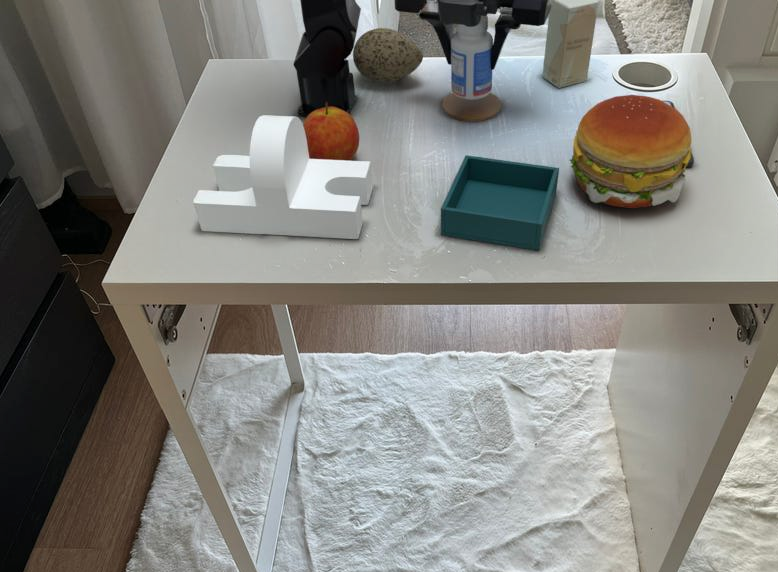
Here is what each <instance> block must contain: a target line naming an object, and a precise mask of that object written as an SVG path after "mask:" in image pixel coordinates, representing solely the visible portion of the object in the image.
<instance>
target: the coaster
mask: <svg viewBox="0 0 778 572" xmlns="http://www.w3.org/2000/svg"><path fill="white" fill-rule="evenodd" d="M441 109H442V111H443V112H444V113H445V115H446V116H448V117H449V118H452V119H454V120H457V121H462V122H481V121H482V122H483V121H487V120H490V119H492V118H494V117H496V116H497V115H498V114H499V113H500V112H501V110H502V102H501V100H500V99H499V97H498V96H497V95H495V94H494V93H491V92H490V94H489V95H487V96H486V97H484V98H481V99H476V100H468V99H462V98H459V97H457V96H456V95H455V94H454V93H453V92H452V93H450V94H448V95H447V96H445V98H443V100H442V102H441Z"/></svg>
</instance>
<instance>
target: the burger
mask: <svg viewBox="0 0 778 572" xmlns="http://www.w3.org/2000/svg"><path fill="white" fill-rule="evenodd" d="M663 101H664V100H661V99H659V98H655V97H652V96H647V95H638V94H626V95H617V96H613V97H609V98H607V99H604V100H602V101H599V102H598V103H596V104H595V105H594V106H592V107H591V108H590V109H589V110H587V112H586V113H585V114H584V115H583V116H582V117H581V120H580V121H579V123H578V125H577V129H576V131H575V135H574V136H573V137H574V139H573V148H572V150H573V151H572V153H573V154H572V156H571V159H569V161H570V164H571V165H570V167H571V168H572V169H571V170H572V172H573V174H574V176H575V178H576V180H577V183H578V184H579V186H580V187H581V189H582V191H583V192H584V193H585V194H587V195H588V198H589V200H590V201H591V202H592V203H596V204H598V203H602V204H605V205H609V206H613V207H617V208H626V209H627V208H628V209H638V208H646V207H650V206H653V207H654V206H657V205H661V204H663V203H665V202H667V201H669V202H670V203H676V202H677V201H678V199H679V198H680V194H681V192H682V189H683V186H684V184H685V183H686V182H687V181H686V174H685V173H686V167H688V166H687V164H688V162H689V160H690V158H691V157H690V155H691V153H692V146H691V145H692V142H693V141H692V140H693V139H692V132H691V127H690V125H689V124H688V122H687V120H686V119H685V117H684V115H683V114H682V113H681V112H680V111H679V110H678V109H676V107H675V108H673V107H671V106H670V105H668V104H666V103H665V102H663Z"/></svg>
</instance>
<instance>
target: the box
mask: <svg viewBox="0 0 778 572" xmlns="http://www.w3.org/2000/svg"><path fill="white" fill-rule="evenodd" d="M598 9H599V1H598V0H552V7H551V10H550V12H549V15H548V18H547V19H548V21H547V29H546V39H545V49H544V56H543V57H544V59H543V65H542V78H544V79H545V80H547V81H548V82H549V83H550V84H552V85H554V86H555V87H556V88H558V89H560V88H565V87H568V86H573V85H576V84H580V83H584V82H587V81H588V75H589V68H590V63H591V62H590V61H591V55H592V49H593V48H592V47H593V43H594V42H593V41H594V37H595V29H596V22H597V15H598Z"/></svg>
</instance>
